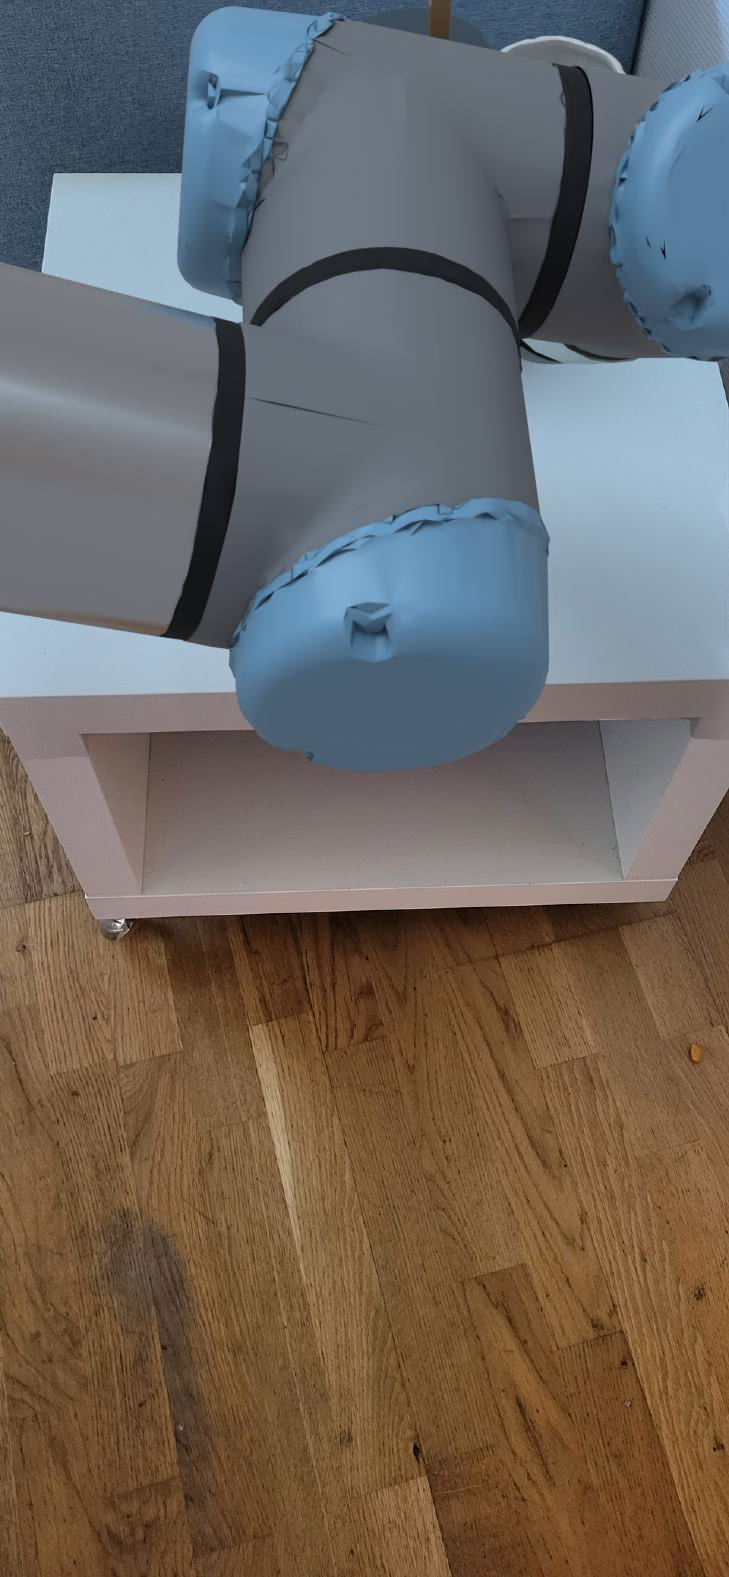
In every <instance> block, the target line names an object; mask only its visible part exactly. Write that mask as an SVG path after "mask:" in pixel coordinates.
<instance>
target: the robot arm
mask: <svg viewBox="0 0 729 1577" xmlns="http://www.w3.org/2000/svg"><path fill="white" fill-rule="evenodd" d="M188 55H189V56H188V70H187V71H188V72H187V83H186V84H187V86H186V103H185V116H184V119H185V120H184V130H183V131H184V133H183V146H182V162H181V180H180V195H179V211H178V229H177V232H178V233H177V246H176V247H177V249H176V250H177V251H176V263H177V268H178V270H179V273H180V275H181V276H182V278H183V280H184V281H185V282H186V283H187V284H188V285H189V286H190V287H192V288H193V289H194V290H197V291H199V292H201V293H205V294H209V295H212V296H216V297H219V298H223V299H226V300H230V301H233V302H234V304H236V305H237V306H239V307H242V308H241V309H242V321H238V322H236V321H232V320H228V319H224V318H221V317H217V316H214V315H206V314H203V313H198V312H194V311H190V310H186V309H183V308H179V307H176V306H171V305H167V304H164V303H159V302H156V301H152V300H149V299H145V298H141V297H137V296H133V295H130V294H129V295H128V294H125V293H121V292H118V291H113V290H110V289H106V288H102V287H98V286H95V285H91V284H87V283H83V282H79V281H75V280H71V279H67V278H64V277H61V276H57V275H52V274H48V273H45V272H40V271H36V270H32V269H29V268H25V267H21V266H17V265H14V264H10V263H6V262H1V261H0V612H1V613H8V614H15V615H20V616H27V617H34V618H39V619H44V620H45V619H46V620H52V621H58V622H64V623H70V624H76V625H82V626H89V627H95V628H101V629H107V630H112V631H113V630H114V631H120V632H127V633H133V634H137V635H138V634H139V635H145V636H150V637H157V638H162V639H163V638H164V639H169V640H171V639H172V640H179V641H182V642H185V643H189V644H196V645H200V646H205V647H209V648H215V649H225V650H229V656H228V666H229V669H230V671H231V673H232V676H233V678H234V681H235V682H234V683H235V695H236V699H237V700H236V701H237V704H238V707H239V709H240V711H241V714H242V716H243V717H244V719H245V720H246V722H248V724H249V725H250V726H251V728H252V729H253V730H254V731H255V733H256V734H257V736H258V737H260V738H261V739H262V740H264V741H265V742H266V743H268V744H269V745H270V746H271V747H273V748H277V749H280V750H283V751H286V752H301V754H302V755H303V757H304V758H305V759H306V760H307V761H309V762H311V763H313V764H314V765H316V766H319V767H323V768H328V769H334V770H339V771H350V772H358V773H359V772H360V773H361V772H362V773H382V772H405V771H413V770H420V769H426V768H432V767H436V766H440V765H445V764H448V763H451V762H454V761H458V760H460V759H463V758H466V757H468V756H471V755H473V754H475V753H478V752H480V751H482V750H483V751H484V750H485V749H487V747H489V746H491V745H493V744H495V743H497V742H499V741H500V740H502V739H503V738H504V737H506V736H507V735H508V734H509V733H510V731H511V730H513V728H514V727H515V726H516V725H517V723H518V722H519V721H521V720H525V718H526V717H527V714H529V713H530V711H531V710H533V708H534V707H535V706H536V704H537V703H538V701H539V699H540V698H541V695H542V694H543V691H544V688H545V685H546V681H547V678H548V674H549V670H550V667H549V666H550V631H549V630H550V627H549V626H550V624H549V623H550V622H549V621H550V619H549V571H548V568H549V567H548V564H549V563H548V561H549V559H548V558H549V556H550V549H549V545H550V541H551V537H550V535H549V533H548V529H547V527H546V525H545V522H544V520H543V518H542V514H541V509H540V503H539V494H538V488H537V487H538V486H537V480H536V474H535V467H534V466H535V465H534V458H533V450H532V443H531V436H530V429H529V422H528V414H527V407H526V399H525V393H524V386H523V379H522V378H523V377H522V373H523V368H524V367H523V364H522V360H523V361H526V362H530V363H535V364H538V365H564V364H565V365H567V364H574V365H575V364H577V365H596V364H597V365H600V364H601V365H602V364H616V363H617V364H618V363H626V362H634V361H636V360H638V359H687V360H693V361H698V362H707V363H720V362H721V363H722V362H724V361H725V360H726V359H727V358H729V62H719V63H718V64H717V65H715V66H714V67H711V68H709V69H708V68H705V67H704V66H701V67H699V68H697V69H696V70H693V71H692V72H690V73H688V74H687V75H686V76H684V77H683V78H682V79H681V80H678V81H674V82H670V81H663V80H658V79H653V78H647V77H643V76H637V75H633V74H628V73H626V74H623V73H617V72H612V71H607V70H602V69H597V68H591V67H586V66H580V65H573V66H565V65H560V64H556V63H552V64H551V63H550V62H549V61H544V60H539V59H535V58H530V57H525V56H520V55H516V54H511V53H506V52H501V51H500V50H496V49H492V48H490V49H487V48H482V47H477V46H473V45H468V44H463V43H458V42H454V41H449V40H444V39H439V38H435V37H430V36H425V35H420V34H416V33H411V32H406V31H401V30H396V29H392V28H387V27H382V26H377V25H373V24H368V23H363V21H358V20H353V19H350V18H349V19H348V18H347V17H346V16H345V15H344V14H340V13H336V12H331V11H328V12H326V13H325V14H323V15H314V14H313V15H312V14H303V13H297V12H296V13H295V12H287V11H278V10H270V9H263V8H253V7H244V6H235V5H233V6H231V5H229V6H224V7H221V8H218V9H216V10H213V11H211V12H210V13H209V14H208V15H206V16H205V17H204V18H202V20H201V21H200V23H199V25H198V26H197V27H196V29H195V30H194V32H193V35H192V38H191V41H190V47H189V54H188Z"/></svg>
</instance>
